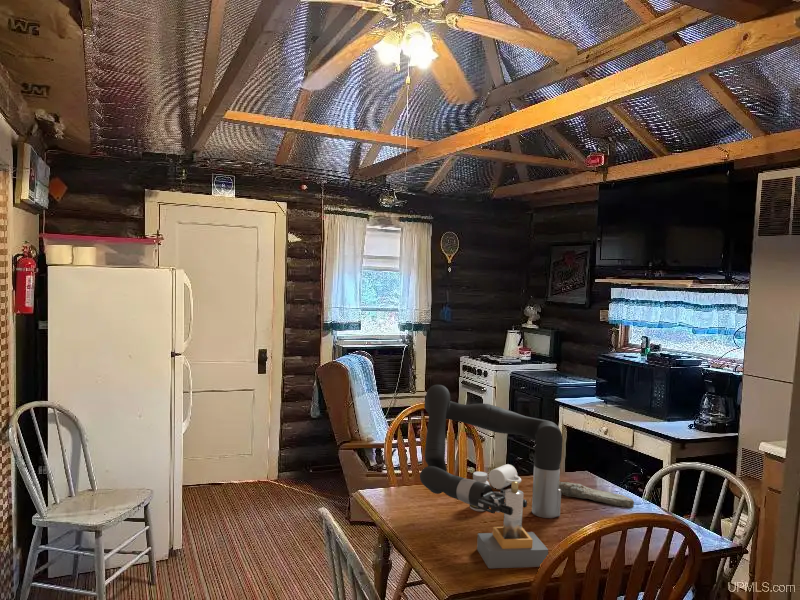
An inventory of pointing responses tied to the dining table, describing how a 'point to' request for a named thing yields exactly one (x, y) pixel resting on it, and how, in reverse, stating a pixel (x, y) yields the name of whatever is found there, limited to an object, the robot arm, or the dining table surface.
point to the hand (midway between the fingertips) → (519, 507)
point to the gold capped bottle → (513, 512)
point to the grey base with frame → (511, 549)
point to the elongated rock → (594, 494)
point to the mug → (503, 476)
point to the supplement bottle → (481, 478)
